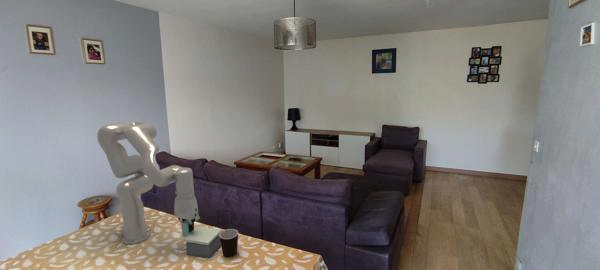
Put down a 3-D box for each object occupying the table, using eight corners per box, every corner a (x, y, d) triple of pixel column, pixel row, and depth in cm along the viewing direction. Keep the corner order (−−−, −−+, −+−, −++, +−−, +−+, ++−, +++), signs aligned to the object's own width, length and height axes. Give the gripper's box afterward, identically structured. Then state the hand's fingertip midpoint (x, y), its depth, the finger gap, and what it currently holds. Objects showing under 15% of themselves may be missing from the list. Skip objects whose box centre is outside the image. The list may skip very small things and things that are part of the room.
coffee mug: (234, 260, 124) (233, 239, 123) (217, 258, 126) (215, 237, 124) (244, 245, 136) (243, 226, 134) (228, 243, 137) (227, 225, 136)
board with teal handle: (222, 231, 136) (221, 218, 134) (208, 245, 124) (207, 231, 123) (193, 227, 139) (192, 214, 138) (177, 240, 128) (176, 226, 127)
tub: (187, 254, 129) (185, 243, 128) (200, 241, 139) (199, 230, 138) (210, 258, 126) (209, 246, 125) (222, 244, 136) (221, 233, 135)
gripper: (164, 195, 128) (168, 232, 131) (196, 199, 124) (198, 236, 127) (175, 189, 135) (178, 224, 138) (205, 192, 131) (207, 228, 135)
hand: (188, 230), depth 133 cm, fingers closed on board with teal handle, 3 cm apart
